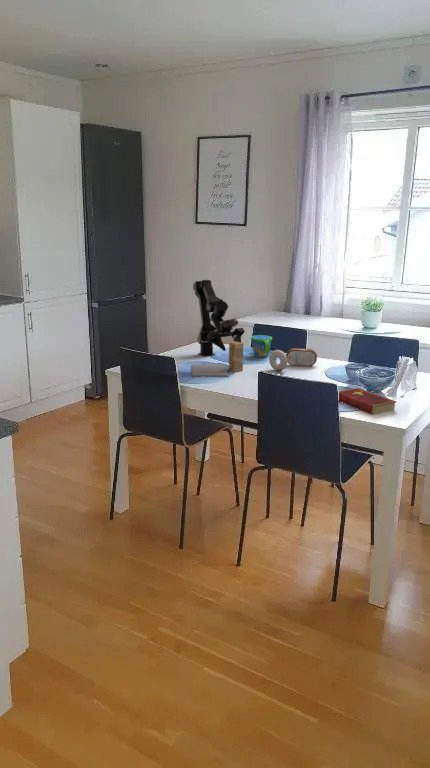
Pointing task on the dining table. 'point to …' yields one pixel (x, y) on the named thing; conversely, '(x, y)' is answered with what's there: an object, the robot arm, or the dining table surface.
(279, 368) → the donut
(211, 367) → the slate mat
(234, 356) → the wooden block
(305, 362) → the tin
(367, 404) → the hardcover book
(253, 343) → the snack cup
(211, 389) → the dining table surface
